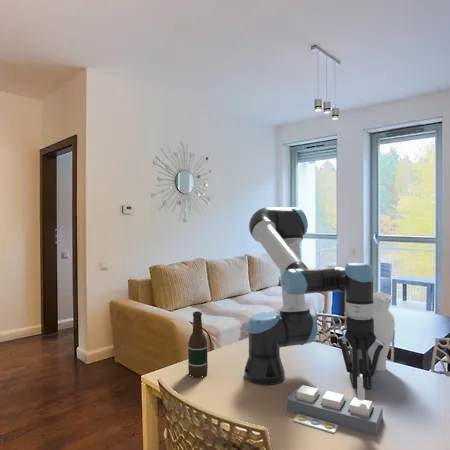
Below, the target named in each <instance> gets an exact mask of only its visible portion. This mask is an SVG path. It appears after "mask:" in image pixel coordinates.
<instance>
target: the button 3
mask: <svg viewBox="0 0 450 450" xmlns="http://www.w3.org/2000/svg"><path fill="white" fill-rule="evenodd" d="M351 399H352V401H351V403H350V413H354V414H358V415H362V416H366V417H369V416H370V414H371V411H372V404H373V401H372V400H367V399H364V400H363V401H362V400H358V397H355V396H354V397H353V398H351Z"/></svg>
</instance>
